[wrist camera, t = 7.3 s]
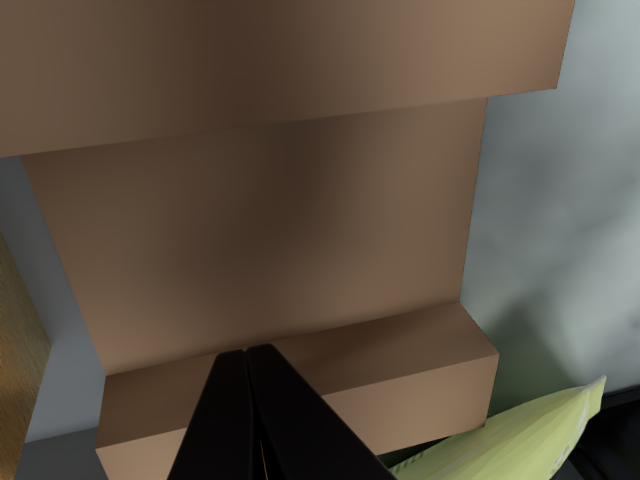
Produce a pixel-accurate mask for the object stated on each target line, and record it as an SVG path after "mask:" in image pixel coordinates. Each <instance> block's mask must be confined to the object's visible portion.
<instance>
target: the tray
mask: <svg viewBox="0 0 640 480" xmlns="http://www.w3.org/2000/svg"><path fill="white" fill-rule="evenodd" d="M0 230H1V232H2V234H3V236H4V239H5V241H6V243H7V245H8V248H9V250H10V252H11V254H12V257H13V259H14V261H15V263H16V266H17V268H18V270H19V272H20V275H21V277H22V279H23V281H24V284H25V286H26V288H27V290H28V293H29V295H30V297H31V299H32V302H33V304H34V306H35V308H36V311H37V313H38V315H39V317H40V320H41V322H42V324H43V326H44V329H45V331H46V333H47V335H48V338H49V340H50V342H51V344H52V348H51V352H50V355H49V359H48V362H47V366H46V369H45V373H44V376H43V379H42V383H41V386H40V390H39V393H38V397H37V400H36V404H35V407H34V411H33V414H32V418H31V421H30V424H29V428H28V431H27V435H26V438H25V442H24V445H23V449H22V452H21V456H20V459H19V463H18V466H17V469H16V473H15V476H14V480H109V479H108V477H107V474H106V472H105V470H104V468H103V466H102V463H101V461H100V459H99V457H98V455H97V453H96V450H95V446H96V439H97V432H98V426H99V419H100V412H101V405H102V398H103V392H104V385H105V378H106V375H105V373H104V370H103V368H102V365H101V362H100V360H99V357H98V355H97V352H96V350H95V347H94V344H93V342H92V339H91V337H90V334H89V332H88V329H87V327H86V324H85V321H84V319H83V316H82V314H81V311H80V309H79V306H78V303H77V301H76V298H75V296H74V293H73V291H72V288H71V285H70V283H69V280H68V278H67V275H66V273H65V270H64V268H63V265H62V262H61V260H60V257H59V255H58V252H57V250H56V247H55V244H54V242H53V239H52V237H51V234H50V232H49V229H48V226H47V224H46V221H45V219H44V216H43V214H42V211H41V209H40V206H39V203H38V201H37V198H36V196H35V193H34V191H33V188H32V185H31V183H30V180H29V178H28V175H27V173H26V170H25V167H24V165H23V162H22V160H21V157H20V155H15V156H7V157H0Z"/></svg>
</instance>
